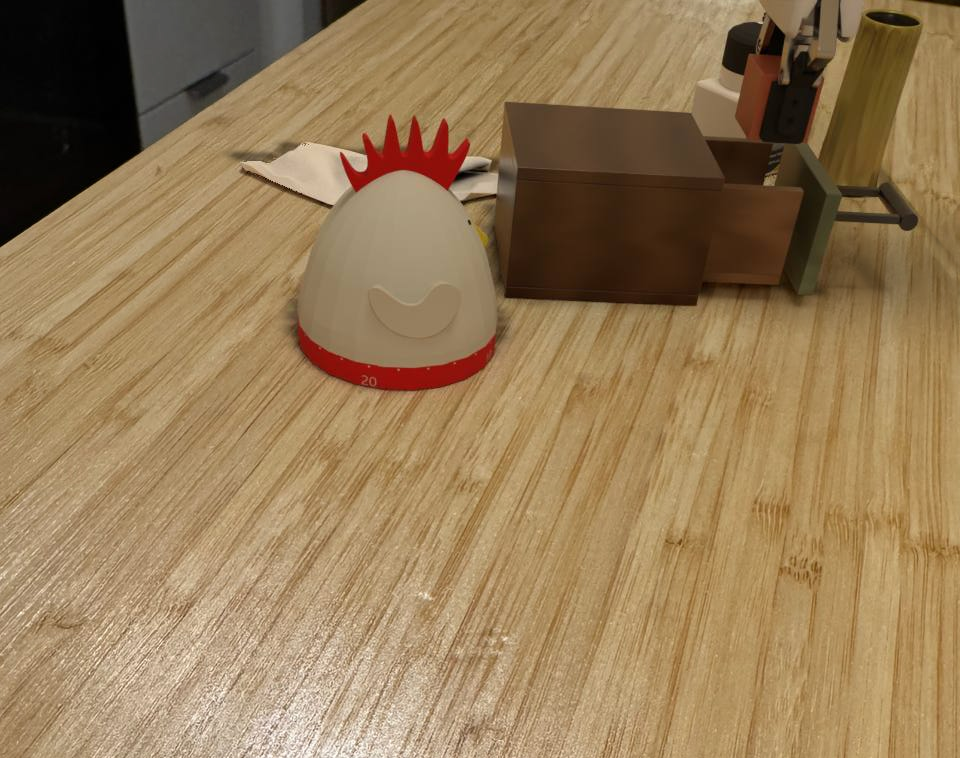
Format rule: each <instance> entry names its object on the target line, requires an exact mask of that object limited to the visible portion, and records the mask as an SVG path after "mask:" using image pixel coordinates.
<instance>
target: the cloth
mask: <svg viewBox="0 0 960 758" xmlns="http://www.w3.org/2000/svg"><path fill="white" fill-rule="evenodd" d="M304 142H305V143H307V144H306V145H305V144H303V143H304ZM304 142H302V143H301V144H299V145H298V146H297V147H296V148H295V149H293V150H288V151H287V152H286V153H284V154H282V155H280V156H279V157H277V158H275V159H276V160H274V161H272V162H271V163H265V162H262V161H247V162H243V161H239V164H240V165H241V167H242V169H243V168H244V169H246V170H250V171H253V172H256V173H258V174H260V175H262V176H263V177H265V178H267V179H266V180H268V179H269V180H268V181H270V180H271V181H270V182H272V181H273V182H272V183H275V182H276V183H275V184H277V183H278V185H279V184H280V185H279V186H282V185H283V186H282V187H284V186H285V187H284V188H286V187H287V188H286V189H289V188H290V189H289V190H291V189H292V190H291V191H294V192H296V191H297V192H296V193H299V194H301V193H302V195H304V196H307V197H309V198H312V199H315V200H317V201H319V202H323V203H325V204H327V205H332V206H334V204H335V203H336V202H337V200H338V199H339V198H340V197H341V196H342V195H343V194H344V193H345V192H346V191H347V190H348V189H349V188H350V187H351V186H352V185H351V183H350V181H349V179H348V177H347V175H346V173H345V170H344V167H343V164H342V161H341V157H340V152H342V153H343V154H344V155H345V157H346V158H347V160H348V161H349V163H350V164H351V166H352V167H353V168H354V169H355V170H356V171H359V172H362V171H365V170H366V168H367V155H366V154H362V153H358V152H355V151H352V150H347V149H343V148H339V147H335V146H331V145H325V144H320V143H316V142H310V141H304ZM302 144H303V145H302ZM308 144H309V145H308ZM304 145H305V146H304ZM492 161H493V160H492V159H490V158H486V157H483V156H474V155H473V156H470V155H469V156H468V155H467V156H466V158H465V160H464V162H463V164H462V166H461V168H460V170H459V172H458V173H457V175H456V177H455V179H454V181H453V182H452V184H451V186H450V188H449V189H450V190H451V191H452V192H453V193H454V195H455V196H456V197H457V198H458V199H459V201H460V202H461V203H462V202H466V201H470V200H473V199H478V198H482V197H486V196H487V197H488V196H492V195H497V184H498V173H495V172H489V171H490V168H491V164H492ZM244 169H243V170H244ZM482 171H485V172H482ZM486 171H488V172H486ZM263 177H262V178H263ZM265 178H264V179H265Z"/></svg>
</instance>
